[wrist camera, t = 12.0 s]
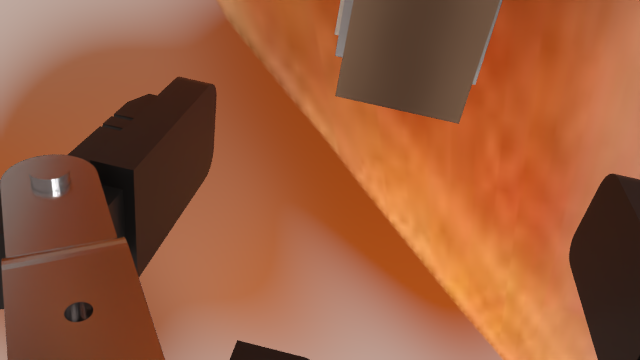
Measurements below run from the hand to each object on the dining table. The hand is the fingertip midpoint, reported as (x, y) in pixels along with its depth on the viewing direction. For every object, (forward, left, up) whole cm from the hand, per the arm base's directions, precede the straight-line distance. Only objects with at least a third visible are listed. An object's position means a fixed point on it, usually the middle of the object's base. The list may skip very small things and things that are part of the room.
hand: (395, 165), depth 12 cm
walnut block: (0, +1, -17) cm, 17 cm away
